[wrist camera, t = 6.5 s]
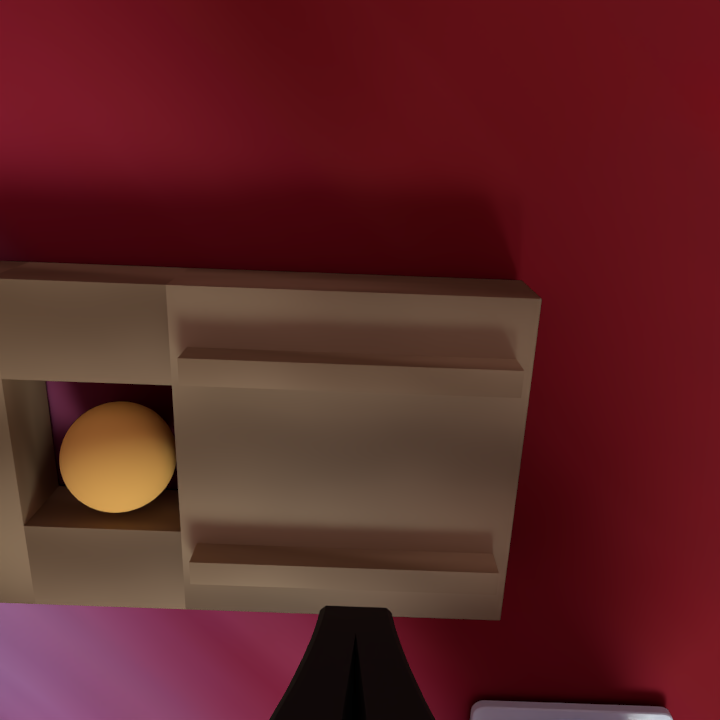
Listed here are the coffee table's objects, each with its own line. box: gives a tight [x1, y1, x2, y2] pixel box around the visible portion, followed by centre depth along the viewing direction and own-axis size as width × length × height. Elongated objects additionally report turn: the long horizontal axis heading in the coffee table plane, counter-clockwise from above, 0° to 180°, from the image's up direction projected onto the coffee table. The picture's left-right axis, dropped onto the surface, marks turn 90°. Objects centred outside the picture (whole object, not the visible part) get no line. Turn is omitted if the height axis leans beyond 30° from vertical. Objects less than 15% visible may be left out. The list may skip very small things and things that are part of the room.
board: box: [0, 261, 542, 620], centre depth 20 cm, size 11×18×4 cm, turn 88°
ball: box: [59, 401, 176, 513], centre depth 21 cm, size 4×4×4 cm
